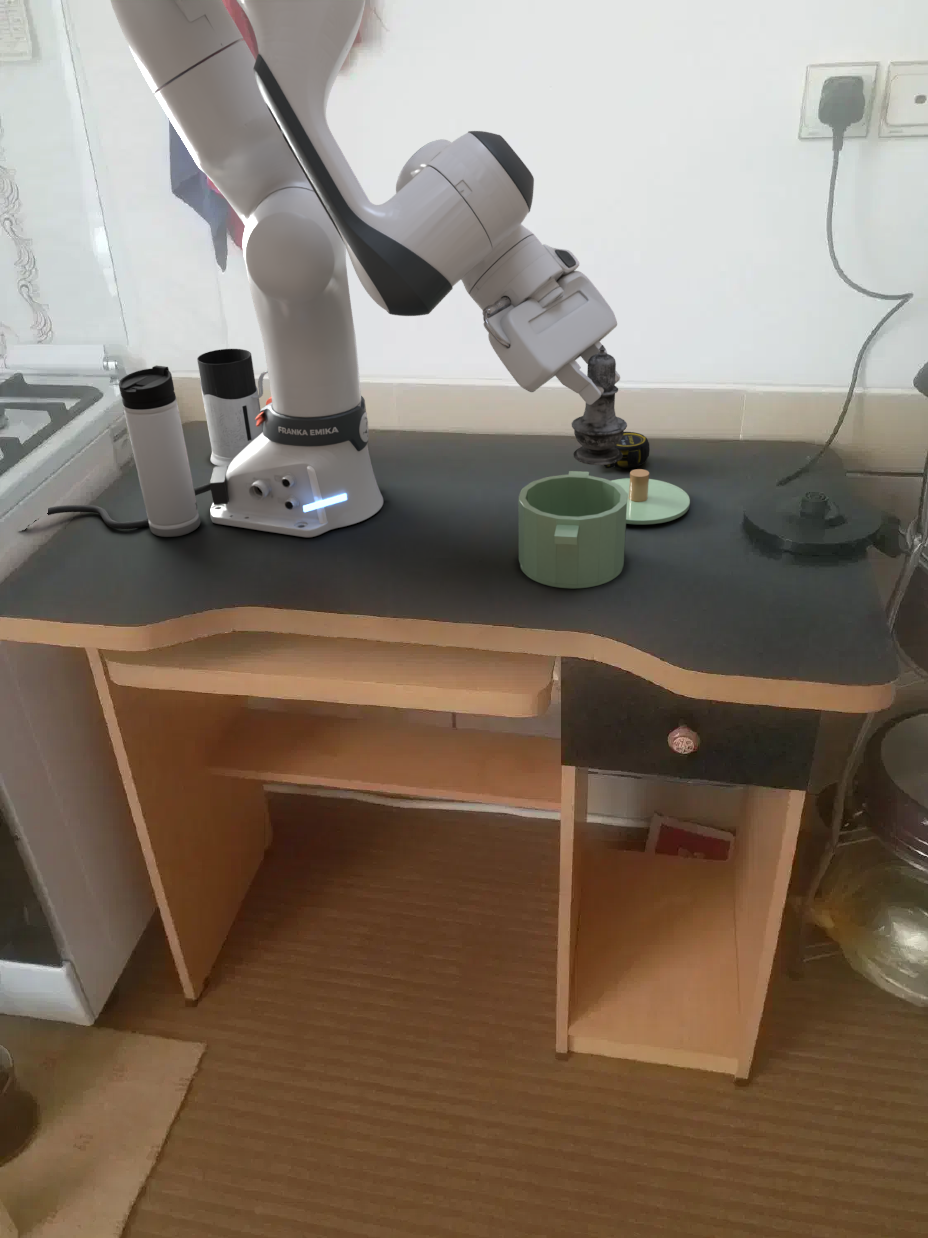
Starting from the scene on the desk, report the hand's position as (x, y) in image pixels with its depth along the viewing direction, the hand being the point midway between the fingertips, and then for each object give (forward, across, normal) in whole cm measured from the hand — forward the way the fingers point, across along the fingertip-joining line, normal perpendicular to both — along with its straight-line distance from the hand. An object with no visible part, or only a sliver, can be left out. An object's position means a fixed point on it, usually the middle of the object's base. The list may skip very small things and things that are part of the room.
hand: (606, 391), depth 103 cm
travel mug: (-23, -11, +53) cm, 58 cm away
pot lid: (+14, +17, +15) cm, 26 cm away
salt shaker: (+5, 0, +6) cm, 7 cm away
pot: (+12, 0, +17) cm, 21 cm away
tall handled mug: (-26, +12, +56) cm, 63 cm away
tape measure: (+9, +29, +20) cm, 37 cm away
